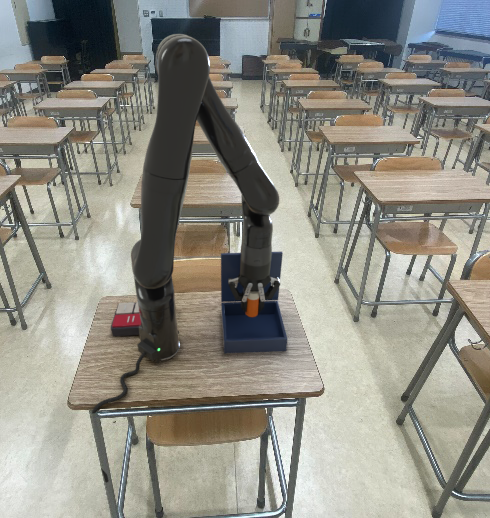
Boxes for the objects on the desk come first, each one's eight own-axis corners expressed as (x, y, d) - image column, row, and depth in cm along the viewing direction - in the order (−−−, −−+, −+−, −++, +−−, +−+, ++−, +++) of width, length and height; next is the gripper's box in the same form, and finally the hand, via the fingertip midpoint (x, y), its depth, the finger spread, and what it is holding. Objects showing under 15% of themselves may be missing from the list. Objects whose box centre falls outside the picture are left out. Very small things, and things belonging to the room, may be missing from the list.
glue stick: (253, 319, 106) (255, 295, 101) (242, 313, 107) (244, 290, 103) (260, 312, 108) (262, 289, 103) (250, 307, 110) (251, 284, 105)
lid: (282, 253, 106) (279, 242, 111) (220, 254, 106) (220, 244, 110) (278, 300, 115) (275, 288, 120) (221, 302, 115) (220, 290, 119)
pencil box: (285, 353, 106) (287, 339, 103) (223, 355, 105) (223, 341, 102) (276, 314, 119) (277, 300, 116) (221, 316, 118) (221, 302, 115)
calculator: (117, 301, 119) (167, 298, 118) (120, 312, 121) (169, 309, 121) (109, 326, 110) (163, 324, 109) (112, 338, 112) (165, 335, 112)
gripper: (228, 265, 94) (226, 319, 104) (287, 264, 95) (280, 318, 104) (226, 249, 100) (225, 301, 110) (281, 248, 101) (275, 300, 110)
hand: (252, 309), depth 107 cm, fingers closed on glue stick, 3 cm apart
